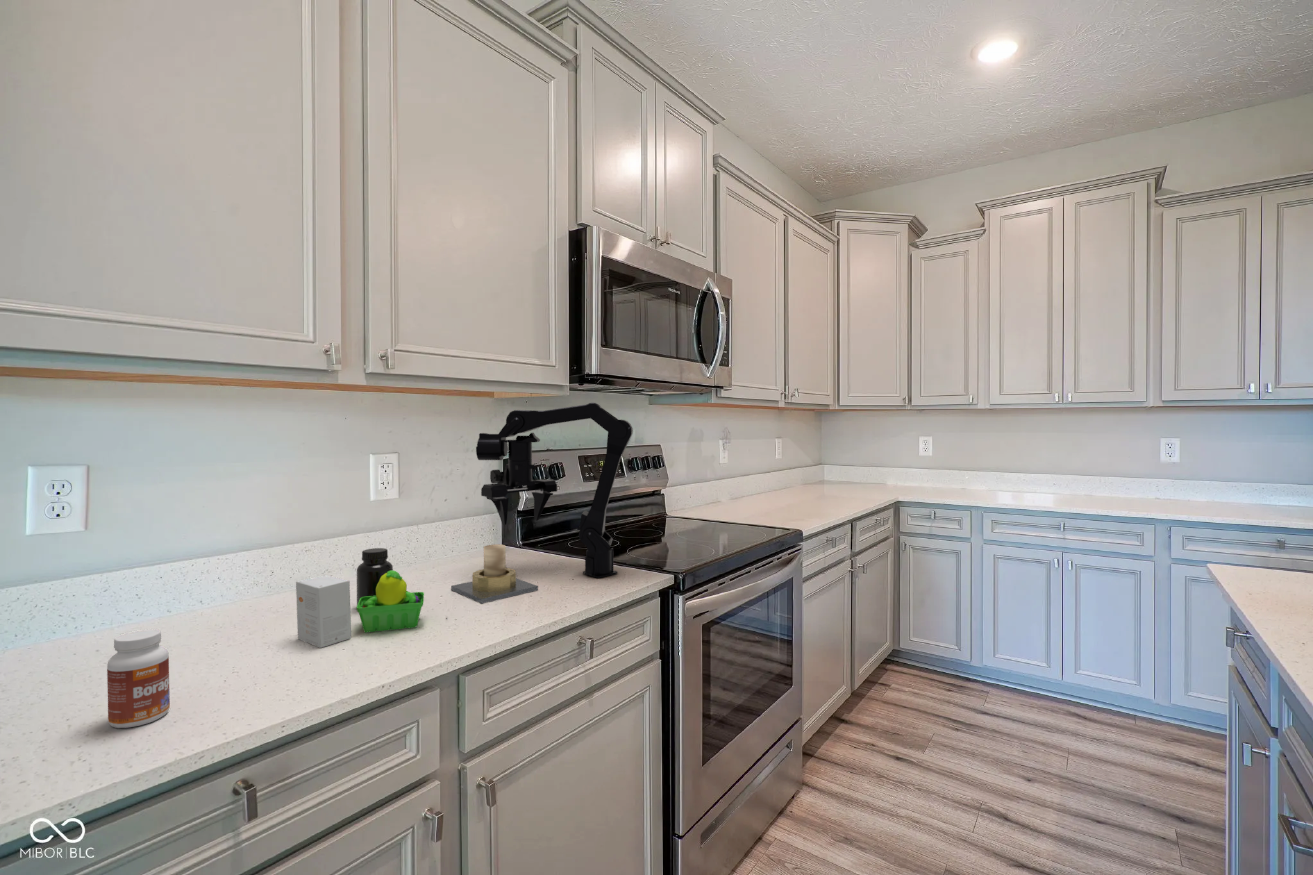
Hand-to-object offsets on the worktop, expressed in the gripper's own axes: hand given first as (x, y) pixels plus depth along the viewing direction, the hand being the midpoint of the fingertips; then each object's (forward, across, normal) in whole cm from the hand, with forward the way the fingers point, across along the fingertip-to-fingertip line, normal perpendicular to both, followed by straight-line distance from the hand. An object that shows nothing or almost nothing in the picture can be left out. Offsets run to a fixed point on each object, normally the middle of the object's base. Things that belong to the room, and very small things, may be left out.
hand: (520, 522), depth 152 cm
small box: (+13, +49, +14) cm, 53 cm away
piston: (+12, +12, +8) cm, 19 cm away
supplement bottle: (+13, +36, +2) cm, 38 cm away
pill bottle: (+13, +75, +28) cm, 81 cm away
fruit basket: (+13, +38, +16) cm, 43 cm away
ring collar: (+13, +12, +8) cm, 19 cm away
